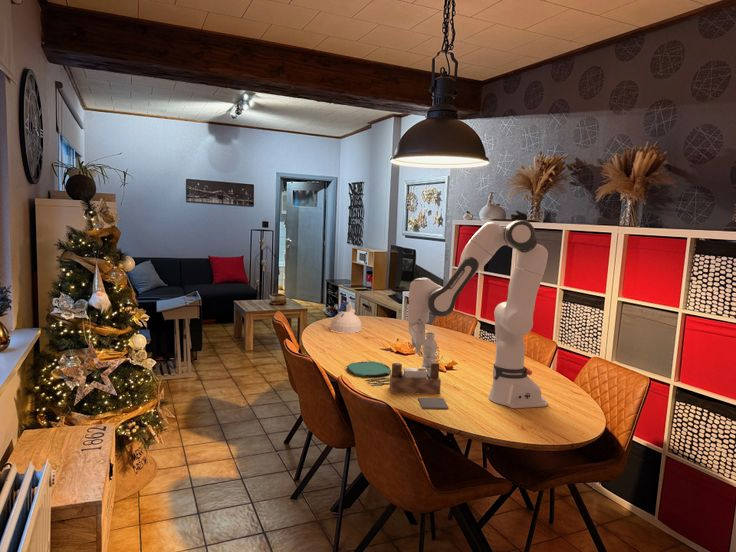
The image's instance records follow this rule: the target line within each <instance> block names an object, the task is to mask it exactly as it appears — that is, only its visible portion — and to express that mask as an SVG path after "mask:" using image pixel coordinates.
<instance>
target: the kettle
mask: <svg viewBox="0 0 736 552" xmlns="http://www.w3.org/2000/svg"><path fill="white" fill-rule="evenodd" d="M345 306H347V307H348V309H347V310H348V311H343V309H344V308H345ZM337 311H338V314H336V315H335V316H334V317H333V318H332V320H331V322H330V325H329V326H330V327H329V330H330V329H331V330H333V331H337V332H344V333H355V332H359V331H361V330H362V331H363V328H362V327H363V325H362V320H361V319H360V318H359V316H357V315H356V314H355V313H356V310H355V308H353V306H352V303H351V302H349V301H345V302H344V303H342V304H341V305H340V307H339V308H338V310H337ZM342 311H343V312H342ZM362 331H361V332H362ZM355 334H356V333H355Z"/></svg>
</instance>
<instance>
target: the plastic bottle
mask: <svg viewBox="0 0 736 552" xmlns="http://www.w3.org/2000/svg"><path fill="white" fill-rule="evenodd" d="M437 343H438V342H437V341H436V340H435V333H434V332H425V344H424V345H422V364H421V367H425V368H426V370H427V372H429V374H430V371H431V362H436V352H437V349H438V344H437Z"/></svg>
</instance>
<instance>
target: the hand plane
mask: <svg viewBox="0 0 736 552" xmlns="http://www.w3.org/2000/svg"><path fill="white" fill-rule="evenodd" d="M402 365H403V364H402V363H400V362H394V363H391V373H390V374H389V379H390V381H389V383H390V384H389V390H390V393H391V394H416V393H420V394H424V395H426V394H428V395H429V394H430V395H431V394H432V395H440V394H441V381H442V380H441V378H440V376H439V375H440V373H439V372H440V363H439V361H435V362H431V371H430V374H429V372H427V378H405V377H404V371H403V370H402V369H403V366H402ZM420 394H419V395H420Z"/></svg>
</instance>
